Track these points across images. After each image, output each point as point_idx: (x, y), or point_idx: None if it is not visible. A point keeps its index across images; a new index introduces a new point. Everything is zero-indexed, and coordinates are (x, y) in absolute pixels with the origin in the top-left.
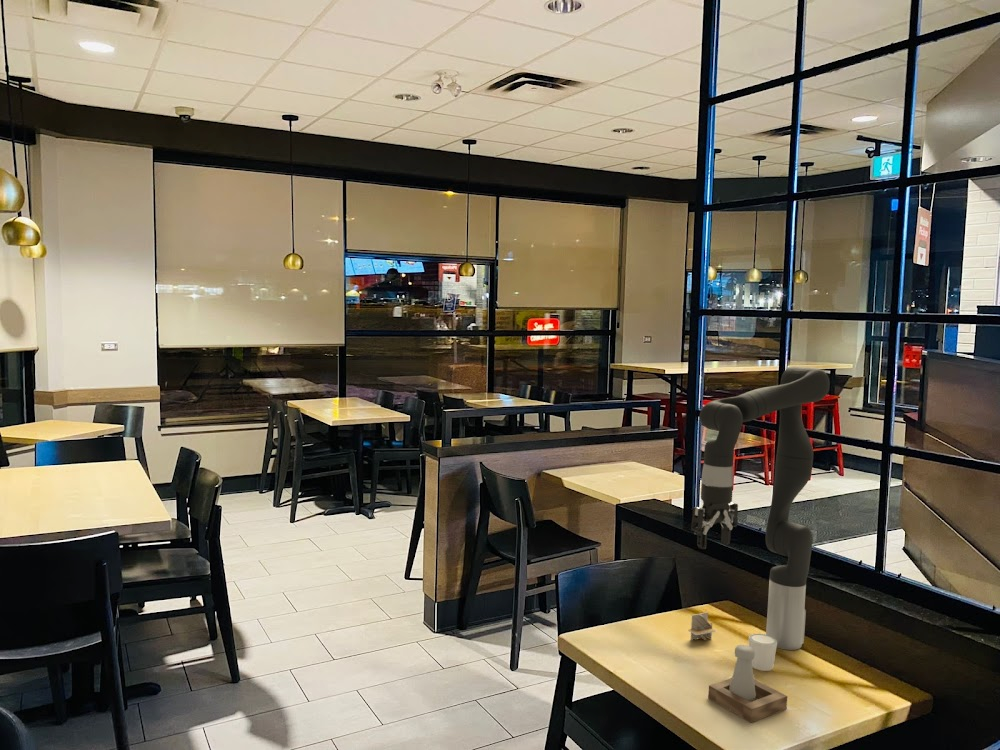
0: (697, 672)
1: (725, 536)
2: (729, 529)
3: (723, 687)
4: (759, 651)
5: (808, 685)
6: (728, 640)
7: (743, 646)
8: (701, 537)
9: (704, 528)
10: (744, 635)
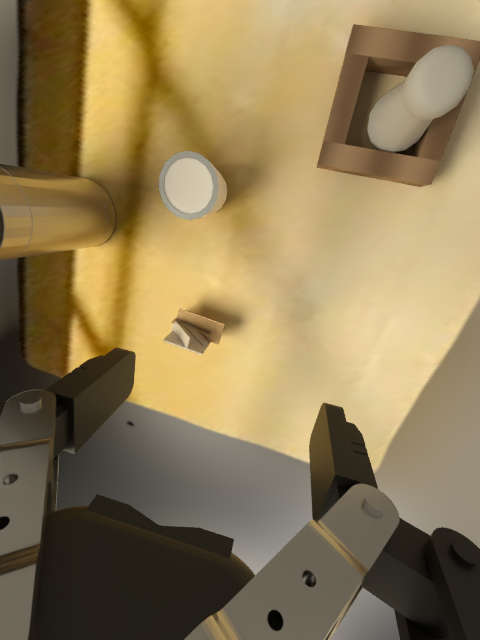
0: (328, 260)
1: (107, 390)
2: (55, 401)
3: (416, 157)
4: (220, 179)
5: (209, 73)
6: (162, 288)
7: (441, 83)
8: (373, 481)
9: (381, 549)
10: (120, 279)
